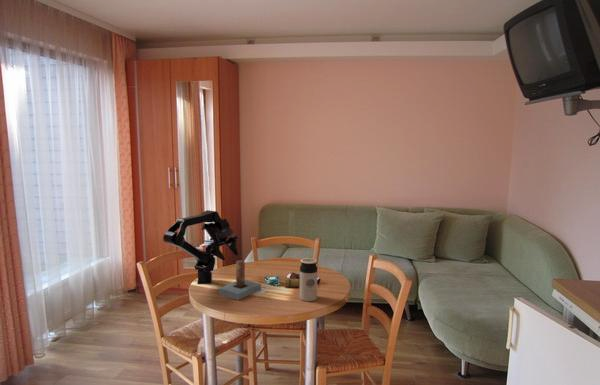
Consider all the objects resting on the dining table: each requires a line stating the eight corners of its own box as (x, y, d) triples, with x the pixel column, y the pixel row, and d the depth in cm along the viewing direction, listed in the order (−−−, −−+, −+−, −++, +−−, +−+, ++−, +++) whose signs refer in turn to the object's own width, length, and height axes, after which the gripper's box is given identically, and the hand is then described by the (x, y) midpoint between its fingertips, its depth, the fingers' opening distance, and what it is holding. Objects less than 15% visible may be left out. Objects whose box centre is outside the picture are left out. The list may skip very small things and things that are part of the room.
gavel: (283, 269, 208) (302, 269, 208) (283, 277, 208) (302, 277, 209) (285, 279, 187) (305, 279, 188) (285, 288, 187) (305, 288, 188)
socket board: (219, 294, 178) (219, 288, 177) (242, 284, 191) (242, 279, 191) (238, 300, 171) (238, 293, 171) (261, 289, 184) (261, 283, 184)
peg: (236, 293, 179) (236, 262, 177) (236, 290, 183) (236, 260, 181) (244, 293, 179) (244, 262, 178) (244, 290, 183) (244, 260, 182)
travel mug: (299, 294, 178) (300, 257, 176) (316, 295, 178) (317, 258, 176) (299, 301, 170) (299, 262, 168) (316, 302, 170) (317, 263, 168)
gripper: (208, 227, 184) (225, 253, 180) (235, 220, 199) (251, 243, 195) (198, 241, 190) (214, 266, 185) (224, 233, 205) (240, 256, 200)
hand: (231, 257), depth 191 cm, fingers open, 9 cm apart
